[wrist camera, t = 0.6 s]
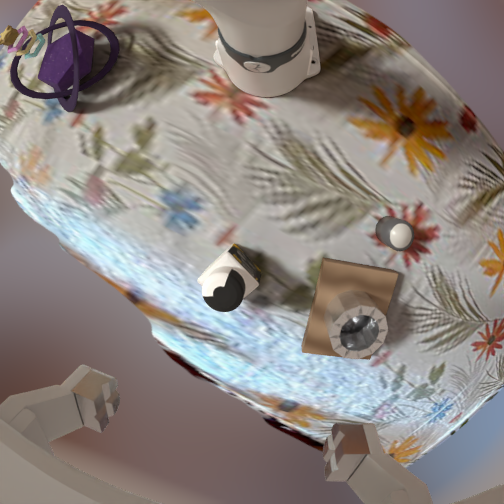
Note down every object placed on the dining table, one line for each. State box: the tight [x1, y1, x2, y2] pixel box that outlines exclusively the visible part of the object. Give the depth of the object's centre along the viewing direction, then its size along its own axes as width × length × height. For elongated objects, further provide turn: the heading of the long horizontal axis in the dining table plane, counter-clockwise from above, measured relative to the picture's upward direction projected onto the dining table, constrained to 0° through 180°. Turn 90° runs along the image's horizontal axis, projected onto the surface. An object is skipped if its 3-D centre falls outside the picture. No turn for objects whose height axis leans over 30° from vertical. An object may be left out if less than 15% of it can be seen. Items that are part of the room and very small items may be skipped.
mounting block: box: [301, 258, 398, 360], centre depth 51 cm, size 18×14×2 cm
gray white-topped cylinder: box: [376, 216, 414, 251], centre depth 45 cm, size 5×5×6 cm
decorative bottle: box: [0, 5, 120, 112], centre depth 33 cm, size 22×21×25 cm
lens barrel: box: [324, 290, 388, 359], centre depth 46 cm, size 10×10×7 cm
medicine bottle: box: [198, 244, 261, 312], centre depth 47 cm, size 7×7×12 cm
